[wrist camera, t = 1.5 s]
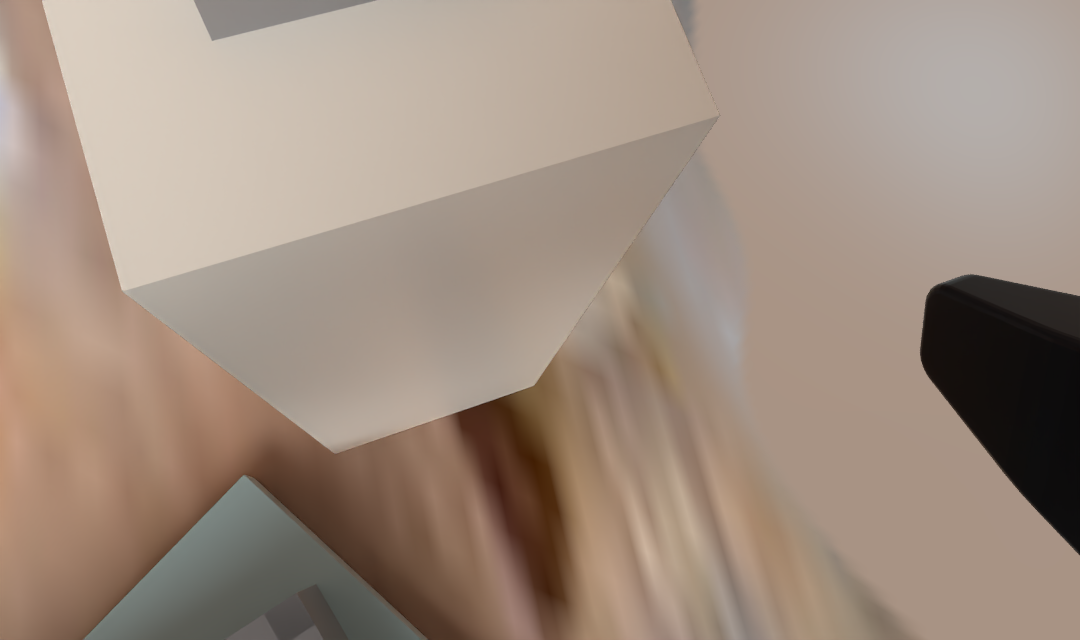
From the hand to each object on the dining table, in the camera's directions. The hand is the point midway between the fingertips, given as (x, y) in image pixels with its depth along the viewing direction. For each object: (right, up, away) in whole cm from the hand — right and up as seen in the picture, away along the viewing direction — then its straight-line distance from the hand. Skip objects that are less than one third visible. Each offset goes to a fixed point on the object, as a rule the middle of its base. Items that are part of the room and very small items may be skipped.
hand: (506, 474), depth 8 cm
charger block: (-3, +1, +11) cm, 12 cm away
